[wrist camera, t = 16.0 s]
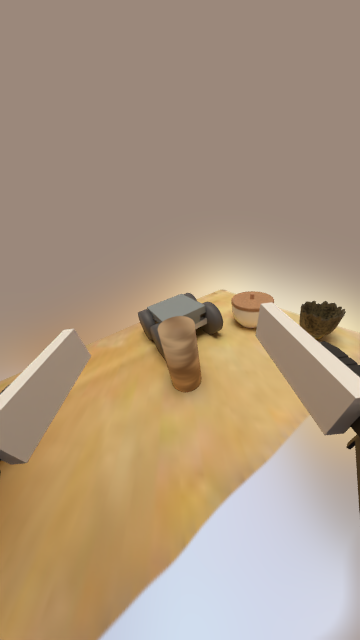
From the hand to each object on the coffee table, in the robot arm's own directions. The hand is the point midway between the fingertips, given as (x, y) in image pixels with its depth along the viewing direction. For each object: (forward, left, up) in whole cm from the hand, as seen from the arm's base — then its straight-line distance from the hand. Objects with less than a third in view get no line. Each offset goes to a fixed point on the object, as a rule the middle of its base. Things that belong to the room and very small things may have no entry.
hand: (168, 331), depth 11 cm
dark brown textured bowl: (+37, +3, -22) cm, 43 cm away
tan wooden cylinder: (+6, +12, -22) cm, 26 cm away
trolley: (+13, +27, -22) cm, 37 cm away
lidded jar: (+32, +17, -22) cm, 43 cm away
